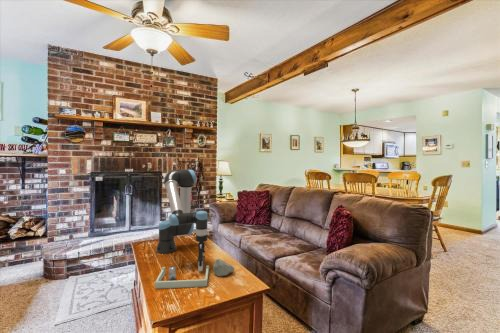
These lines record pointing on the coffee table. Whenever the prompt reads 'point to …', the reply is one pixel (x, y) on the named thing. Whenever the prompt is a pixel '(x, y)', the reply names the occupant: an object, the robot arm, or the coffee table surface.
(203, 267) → the walnut block
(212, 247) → the coffee table surface
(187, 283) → the bay
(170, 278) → the metal cylinder
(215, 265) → the decorative stone
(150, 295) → the coffee table surface
